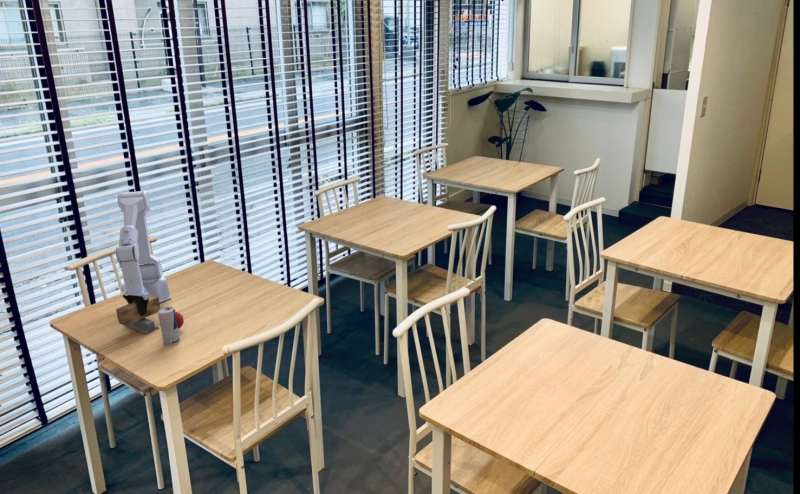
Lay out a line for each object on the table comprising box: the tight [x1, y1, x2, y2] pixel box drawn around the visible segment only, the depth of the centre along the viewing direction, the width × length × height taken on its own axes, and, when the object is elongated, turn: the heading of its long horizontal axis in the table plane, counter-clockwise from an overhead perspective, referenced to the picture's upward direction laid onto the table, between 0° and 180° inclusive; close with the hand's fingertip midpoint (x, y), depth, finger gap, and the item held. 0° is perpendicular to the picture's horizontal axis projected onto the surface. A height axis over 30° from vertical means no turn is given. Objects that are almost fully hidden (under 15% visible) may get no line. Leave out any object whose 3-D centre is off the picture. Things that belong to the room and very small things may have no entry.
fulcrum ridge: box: [126, 317, 159, 335], centre depth 225 cm, size 5×12×3 cm, turn 54°
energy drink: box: [157, 306, 181, 346], centre depth 212 cm, size 5×5×12 cm
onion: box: [175, 311, 185, 330], centre depth 221 cm, size 6×6×8 cm
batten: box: [115, 295, 161, 327], centre depth 223 cm, size 14×4×6 cm, turn 144°
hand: (139, 313), depth 224 cm, fingers closed on batten, 4 cm apart
